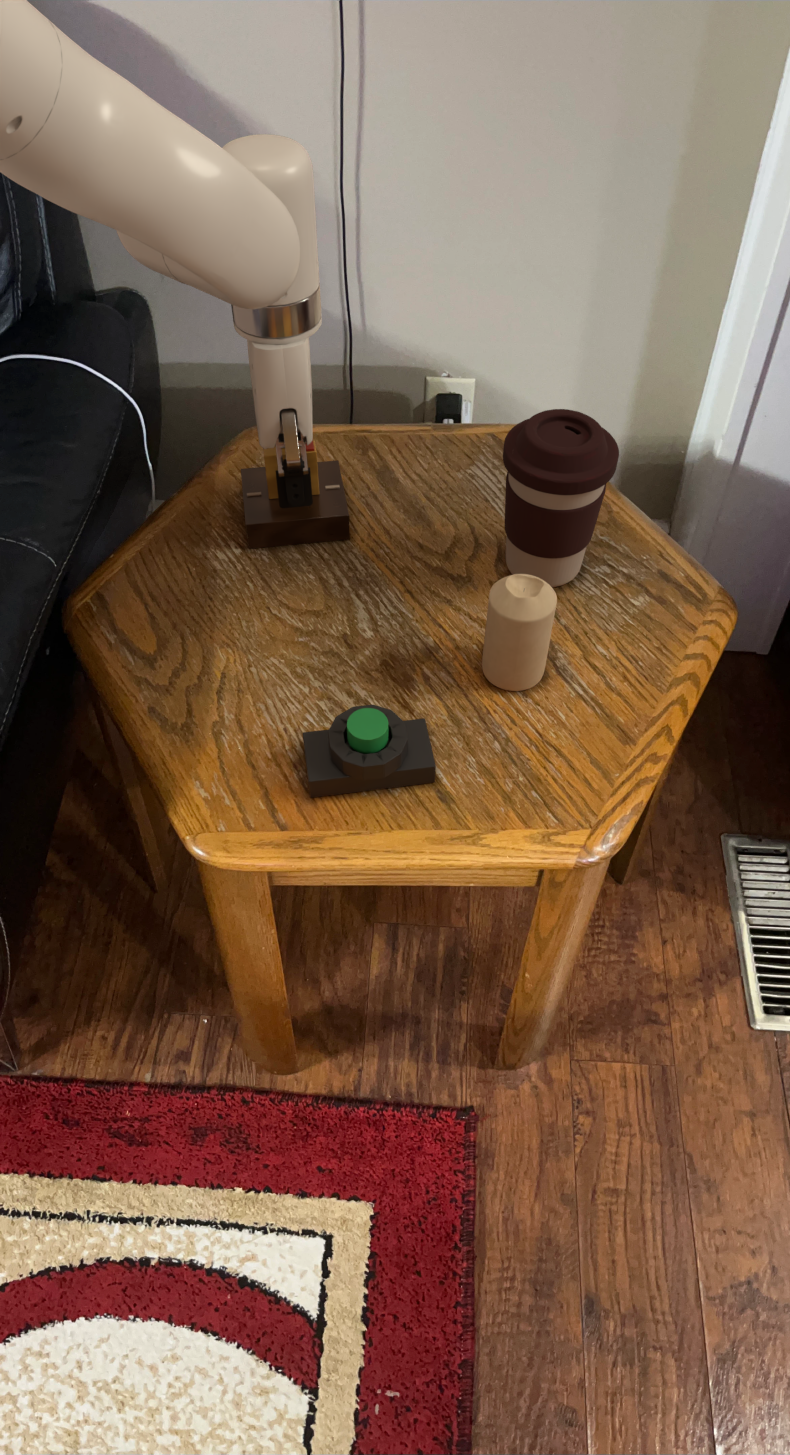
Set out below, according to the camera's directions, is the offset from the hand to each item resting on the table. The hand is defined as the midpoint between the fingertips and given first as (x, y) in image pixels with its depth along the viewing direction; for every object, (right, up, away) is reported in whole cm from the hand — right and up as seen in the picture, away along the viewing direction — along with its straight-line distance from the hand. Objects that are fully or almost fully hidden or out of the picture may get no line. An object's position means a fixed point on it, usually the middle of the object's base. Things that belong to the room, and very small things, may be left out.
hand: (292, 479), depth 96 cm
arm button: (+8, -25, -20) cm, 33 cm away
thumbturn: (0, -1, +1) cm, 1 cm away
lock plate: (0, -3, +3) cm, 4 cm away
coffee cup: (+24, -9, -1) cm, 26 cm away
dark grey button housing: (+8, -27, -17) cm, 33 cm away
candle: (+20, -19, -10) cm, 30 cm away
